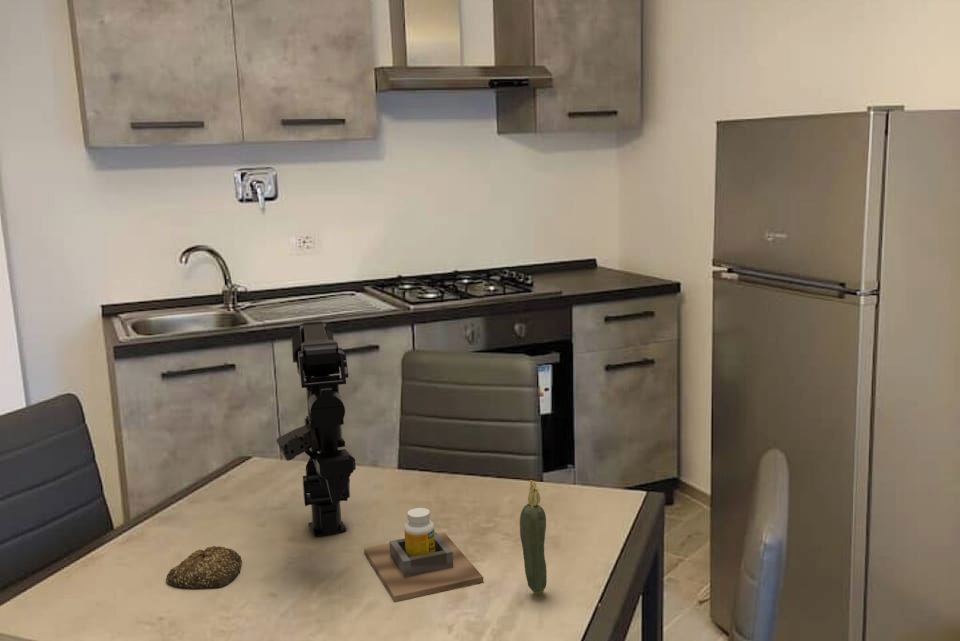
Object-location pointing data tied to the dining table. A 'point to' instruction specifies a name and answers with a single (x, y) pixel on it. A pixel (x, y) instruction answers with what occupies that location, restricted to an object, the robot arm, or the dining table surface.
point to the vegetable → (534, 541)
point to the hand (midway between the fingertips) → (329, 494)
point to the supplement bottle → (419, 533)
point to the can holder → (422, 568)
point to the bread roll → (206, 568)
